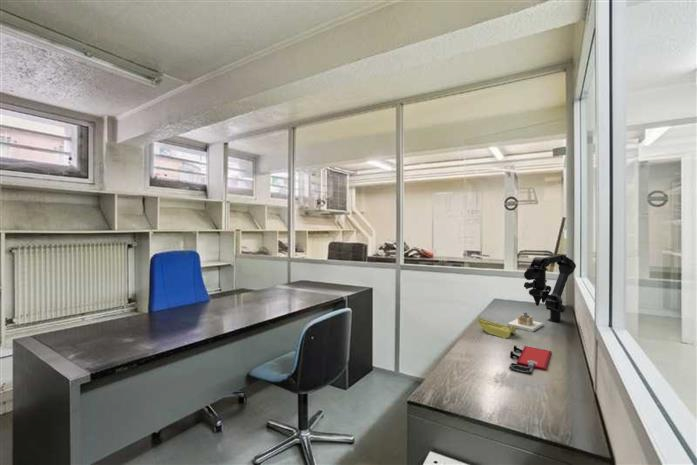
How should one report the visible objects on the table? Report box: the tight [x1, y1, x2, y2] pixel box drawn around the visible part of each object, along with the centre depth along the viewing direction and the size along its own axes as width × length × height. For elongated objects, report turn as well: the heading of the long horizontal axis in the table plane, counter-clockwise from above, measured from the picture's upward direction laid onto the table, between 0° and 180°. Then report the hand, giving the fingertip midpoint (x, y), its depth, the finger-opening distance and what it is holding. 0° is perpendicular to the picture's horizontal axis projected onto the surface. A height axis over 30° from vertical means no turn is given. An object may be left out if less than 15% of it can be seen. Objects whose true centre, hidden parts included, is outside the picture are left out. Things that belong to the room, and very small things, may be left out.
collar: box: [517, 314, 534, 326], centre depth 199 cm, size 6×6×4 cm
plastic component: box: [476, 316, 517, 339], centre depth 190 cm, size 20×7×10 cm
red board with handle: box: [508, 345, 552, 374], centre depth 153 cm, size 30×3×15 cm
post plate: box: [507, 311, 544, 332], centre depth 199 cm, size 15×14×8 cm
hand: (540, 304), depth 201 cm, fingers open, 9 cm apart
